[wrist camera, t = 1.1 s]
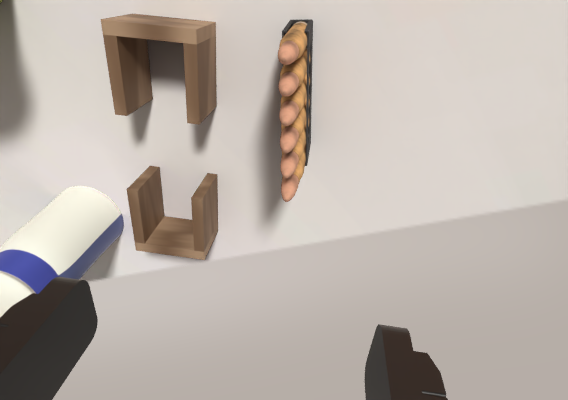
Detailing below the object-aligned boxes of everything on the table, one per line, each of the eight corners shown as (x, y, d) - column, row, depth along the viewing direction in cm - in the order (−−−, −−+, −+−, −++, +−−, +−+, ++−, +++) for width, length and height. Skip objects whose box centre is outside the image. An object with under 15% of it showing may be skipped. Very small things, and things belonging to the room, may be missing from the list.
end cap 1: (142, 97, 35) (115, 114, 31) (132, 13, 31) (100, 19, 27) (216, 106, 35) (199, 124, 30) (215, 22, 31) (196, 29, 27)
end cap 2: (217, 174, 38) (202, 199, 34) (217, 231, 42) (204, 259, 37) (149, 165, 39) (126, 189, 34) (156, 222, 42) (135, 250, 38)
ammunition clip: (310, 145, 35) (300, 213, 25) (290, 145, 36) (272, 212, 25) (312, 19, 30) (301, 40, 20) (289, 19, 30) (266, 41, 20)
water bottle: (128, 254, 45) (-60, 504, 24) (57, 235, 45) (-197, 470, 23) (130, 197, 41) (-96, 440, 19) (53, 176, 41) (-263, 397, 19)
